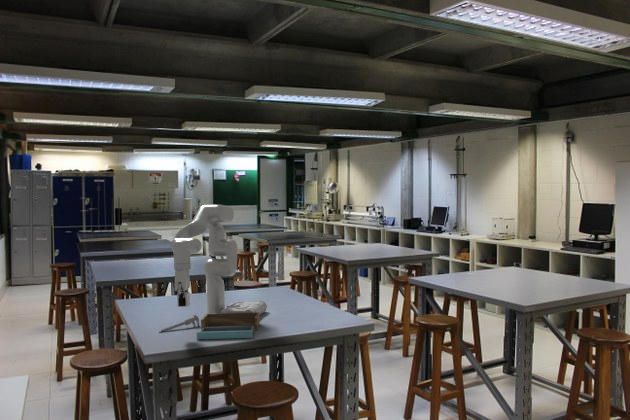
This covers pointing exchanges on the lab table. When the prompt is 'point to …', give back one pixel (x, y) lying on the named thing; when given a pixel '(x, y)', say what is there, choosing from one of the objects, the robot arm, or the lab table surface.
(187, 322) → the caliper
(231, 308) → the white folded cloth
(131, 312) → the lab table surface
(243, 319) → the dock
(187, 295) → the white speckled block
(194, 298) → the lab table surface
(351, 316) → the lab table surface
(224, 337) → the tray
